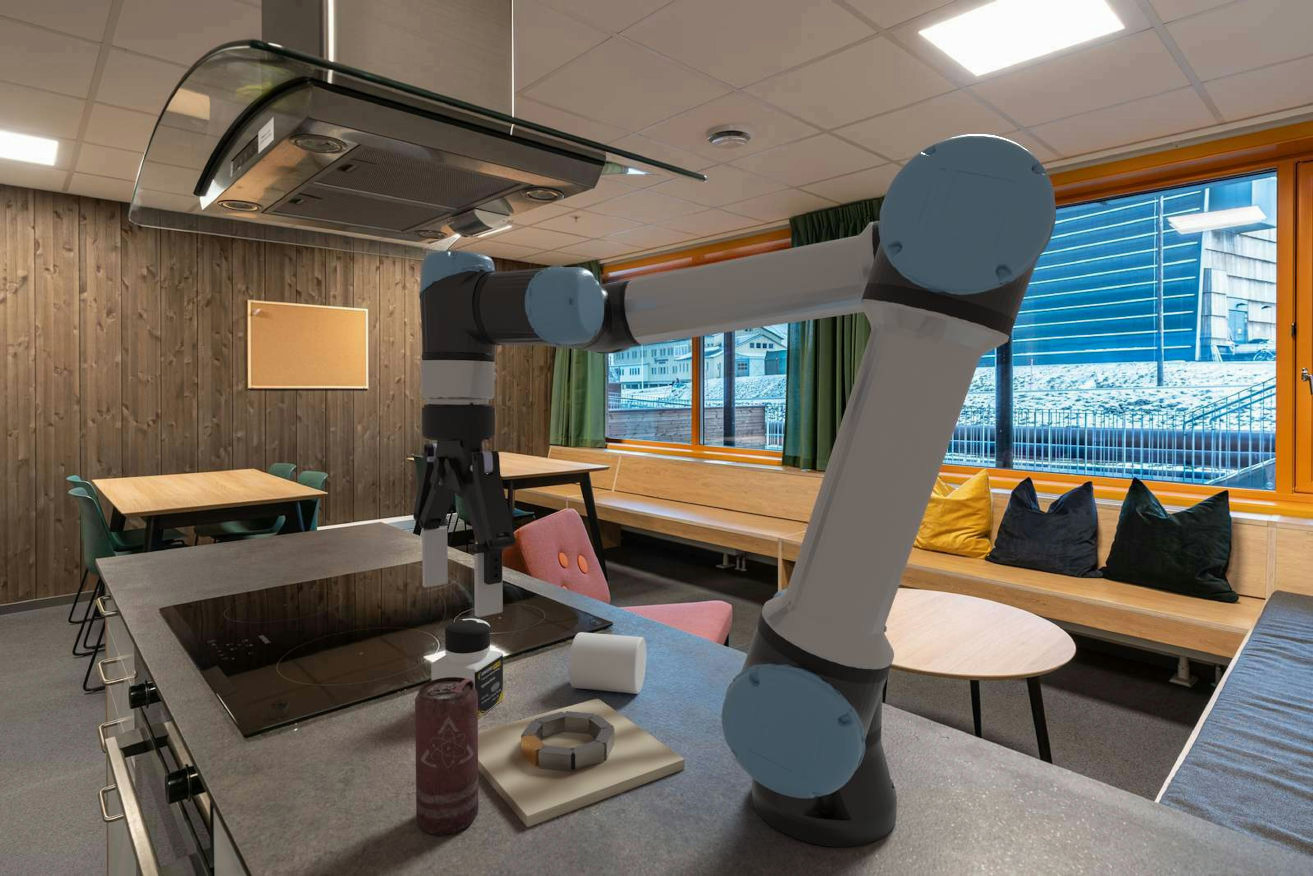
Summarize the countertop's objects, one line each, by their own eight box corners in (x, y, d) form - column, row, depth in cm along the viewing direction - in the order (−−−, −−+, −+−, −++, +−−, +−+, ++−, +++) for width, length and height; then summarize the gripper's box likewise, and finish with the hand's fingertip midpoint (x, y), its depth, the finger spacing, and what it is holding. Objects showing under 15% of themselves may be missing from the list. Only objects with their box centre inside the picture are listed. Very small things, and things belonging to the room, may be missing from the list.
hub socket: (628, 753, 85) (628, 737, 85) (548, 780, 79) (548, 763, 79) (584, 719, 93) (584, 705, 93) (509, 741, 87) (509, 726, 87)
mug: (634, 703, 102) (635, 648, 101) (567, 696, 104) (567, 642, 103) (652, 671, 113) (652, 621, 113) (591, 665, 115) (591, 617, 115)
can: (492, 811, 75) (491, 681, 74) (446, 844, 69) (445, 704, 68) (451, 794, 78) (450, 669, 77) (403, 824, 72) (402, 690, 72)
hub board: (684, 768, 84) (684, 759, 84) (527, 827, 72) (527, 816, 72) (597, 706, 100) (597, 698, 100) (458, 746, 89) (458, 736, 88)
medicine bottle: (475, 722, 95) (475, 633, 94) (430, 714, 97) (429, 627, 97) (504, 700, 102) (503, 617, 101) (461, 693, 104) (460, 612, 103)
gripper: (550, 404, 69) (550, 620, 70) (444, 400, 88) (446, 570, 89) (477, 404, 64) (479, 636, 65) (383, 400, 83) (385, 579, 85)
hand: (460, 598), depth 77 cm, fingers open, 13 cm apart
